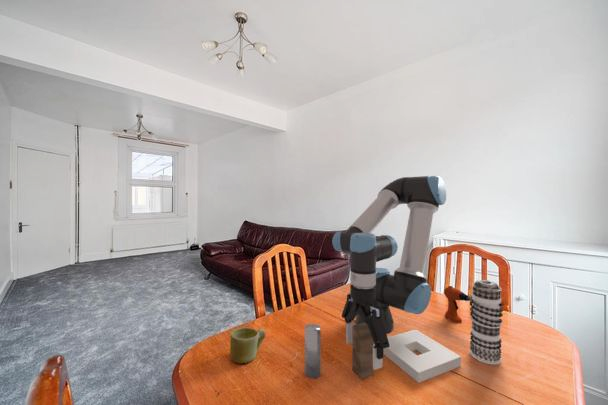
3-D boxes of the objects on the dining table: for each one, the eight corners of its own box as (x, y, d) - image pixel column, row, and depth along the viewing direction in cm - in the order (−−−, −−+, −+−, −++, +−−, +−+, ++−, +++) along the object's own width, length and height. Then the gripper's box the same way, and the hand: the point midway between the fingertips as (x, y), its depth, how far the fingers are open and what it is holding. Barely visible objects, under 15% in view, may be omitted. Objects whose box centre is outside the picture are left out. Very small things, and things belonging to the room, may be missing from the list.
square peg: (352, 370, 80) (352, 325, 79) (364, 366, 81) (364, 322, 81) (361, 379, 75) (361, 332, 75) (373, 375, 77) (373, 329, 77)
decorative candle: (485, 346, 91) (486, 276, 90) (510, 363, 82) (511, 286, 81) (462, 349, 90) (463, 278, 89) (485, 367, 81) (486, 287, 80)
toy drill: (474, 333, 97) (470, 294, 99) (442, 317, 115) (440, 284, 116) (485, 332, 98) (481, 293, 99) (452, 316, 116) (449, 283, 117)
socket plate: (377, 348, 90) (377, 340, 90) (415, 337, 98) (415, 329, 98) (418, 382, 74) (418, 372, 74) (460, 366, 81) (461, 356, 81)
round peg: (302, 370, 80) (302, 325, 79) (316, 366, 81) (316, 322, 81) (308, 380, 75) (308, 333, 75) (323, 376, 77) (323, 329, 77)
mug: (230, 367, 78) (234, 331, 82) (224, 359, 87) (228, 327, 90) (268, 364, 83) (271, 330, 87) (259, 357, 92) (262, 326, 95)
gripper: (331, 274, 87) (331, 336, 88) (380, 302, 65) (380, 385, 65) (350, 272, 90) (350, 331, 91) (403, 297, 68) (403, 377, 68)
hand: (362, 354), depth 78 cm, fingers open, 13 cm apart
